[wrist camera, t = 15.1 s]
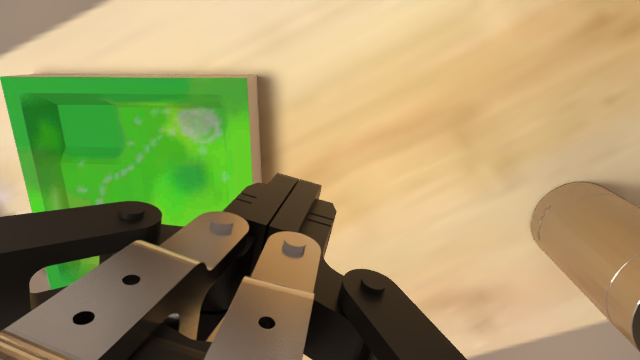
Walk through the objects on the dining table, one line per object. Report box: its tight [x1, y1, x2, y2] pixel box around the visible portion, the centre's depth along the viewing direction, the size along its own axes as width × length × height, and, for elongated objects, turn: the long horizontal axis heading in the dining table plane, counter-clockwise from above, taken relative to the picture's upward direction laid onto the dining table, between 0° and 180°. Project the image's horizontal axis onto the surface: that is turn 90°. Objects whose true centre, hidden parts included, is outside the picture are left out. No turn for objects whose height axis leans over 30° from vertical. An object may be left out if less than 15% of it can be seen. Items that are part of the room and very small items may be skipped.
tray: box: [0, 74, 262, 290], centre depth 45 cm, size 25×25×5 cm
